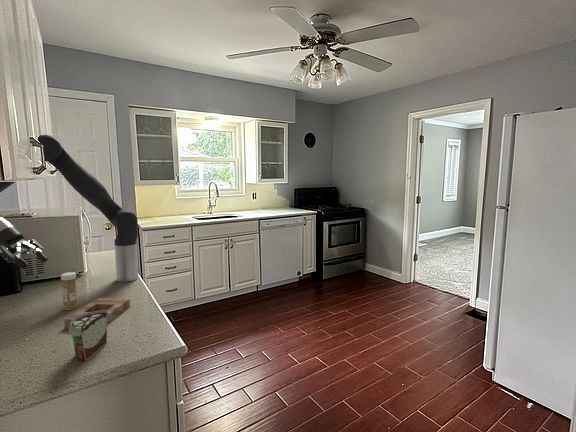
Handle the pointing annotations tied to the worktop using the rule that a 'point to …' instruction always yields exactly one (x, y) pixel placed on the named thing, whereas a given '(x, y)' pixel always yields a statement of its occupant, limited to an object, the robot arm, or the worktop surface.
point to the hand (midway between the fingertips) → (36, 264)
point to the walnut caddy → (102, 308)
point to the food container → (89, 333)
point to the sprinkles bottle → (69, 290)
